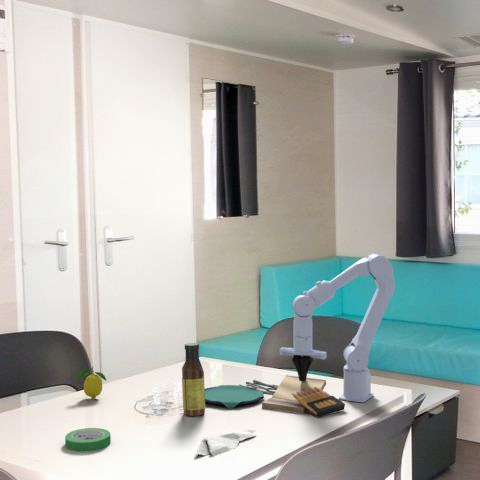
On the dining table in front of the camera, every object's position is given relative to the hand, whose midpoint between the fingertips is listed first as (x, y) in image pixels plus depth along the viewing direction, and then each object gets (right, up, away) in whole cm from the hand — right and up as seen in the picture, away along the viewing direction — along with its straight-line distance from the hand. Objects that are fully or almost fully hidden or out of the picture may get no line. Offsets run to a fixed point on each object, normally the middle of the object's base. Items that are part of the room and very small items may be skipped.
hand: (302, 380), depth 234 cm
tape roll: (-57, -9, -40) cm, 70 cm away
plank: (-1, -3, -2) cm, 4 cm away
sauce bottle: (-32, -7, -15) cm, 36 cm away
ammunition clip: (+7, -6, -16) cm, 18 cm away
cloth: (-23, -9, -40) cm, 47 cm away
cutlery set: (-18, -6, +4) cm, 20 cm away
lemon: (-63, -6, +1) cm, 64 cm away
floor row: (-5, -6, -10) cm, 13 cm away
